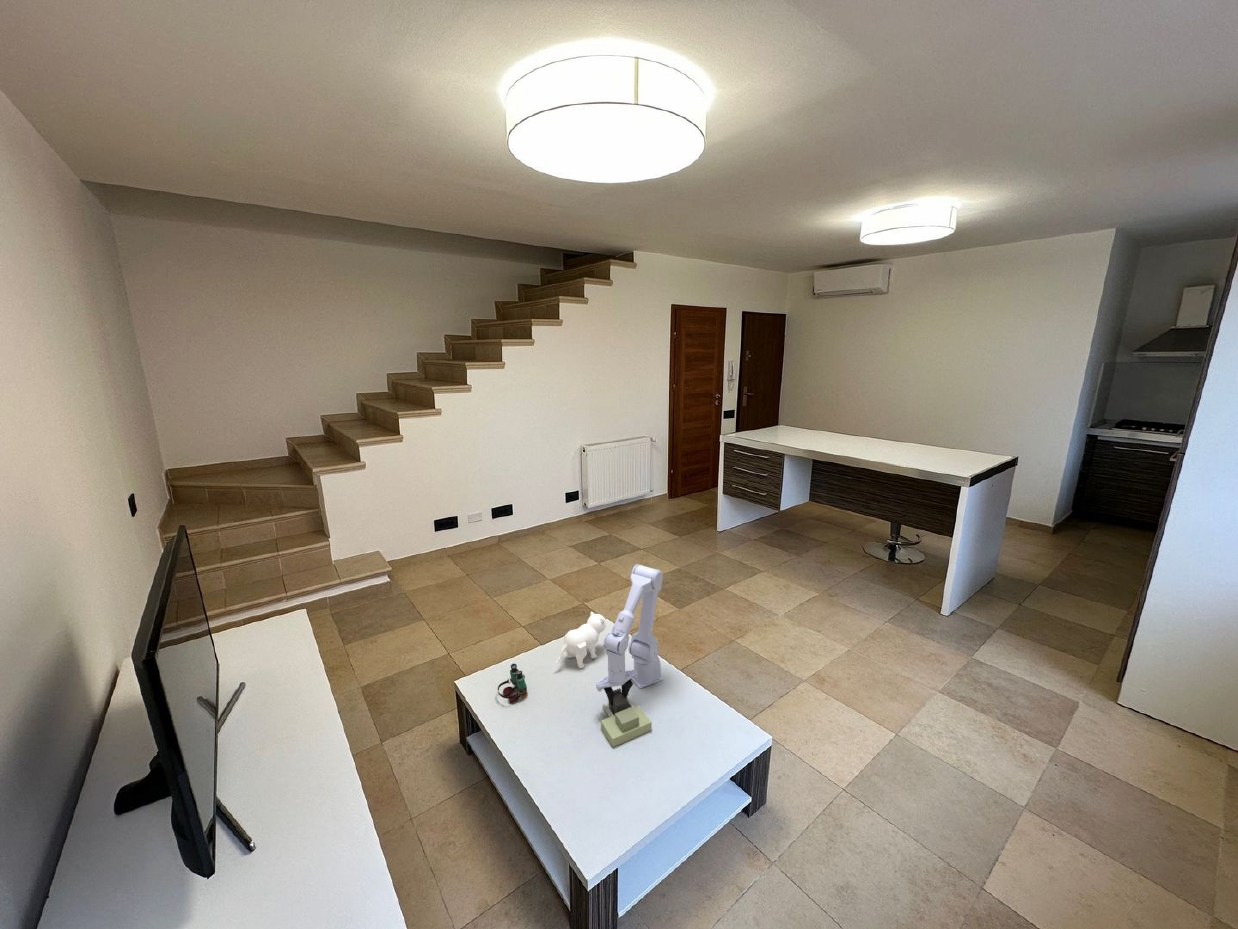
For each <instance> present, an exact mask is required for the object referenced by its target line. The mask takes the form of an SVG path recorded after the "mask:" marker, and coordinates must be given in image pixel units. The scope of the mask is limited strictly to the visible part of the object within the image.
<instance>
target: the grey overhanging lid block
mask: <svg viewBox="0 0 1238 929" xmlns="http://www.w3.org/2000/svg"><path fill="white" fill-rule="evenodd" d="M613 691H614V695H613V705H612V706H611V705H610V703H609V701H608V707H609V709H610V710H612V713H613V714H615V713H618V712H620V711H623V710H625V709H628V708H629V706H628V701H627V699H626V698H625V697H624V695H623V694H622V689H621V688H620V687H619V688H617V689H613Z"/></svg>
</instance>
